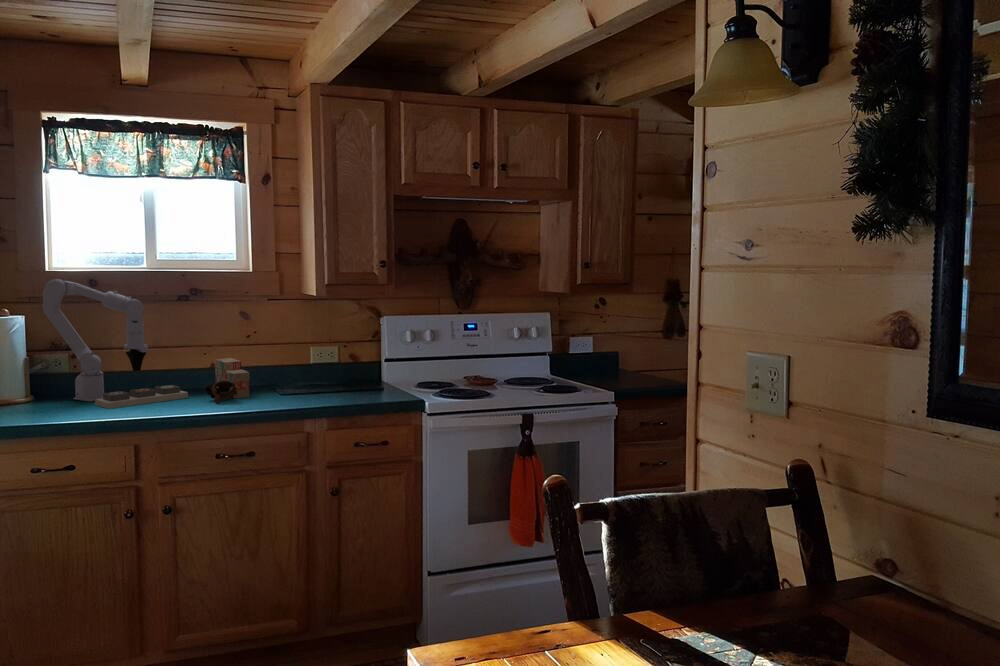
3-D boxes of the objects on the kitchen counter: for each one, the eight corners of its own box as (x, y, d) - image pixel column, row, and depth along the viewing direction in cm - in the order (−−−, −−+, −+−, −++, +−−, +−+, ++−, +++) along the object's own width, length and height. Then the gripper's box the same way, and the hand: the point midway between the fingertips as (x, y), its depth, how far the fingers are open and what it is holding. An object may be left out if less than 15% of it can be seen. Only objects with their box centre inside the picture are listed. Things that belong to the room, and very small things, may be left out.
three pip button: (139, 395, 275) (139, 391, 275) (133, 394, 278) (133, 389, 278) (151, 394, 278) (151, 389, 278) (145, 392, 281) (145, 388, 281)
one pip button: (164, 392, 282) (164, 387, 282) (158, 390, 285) (158, 386, 284) (176, 390, 285) (176, 386, 285) (170, 389, 288) (170, 385, 288)
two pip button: (112, 399, 268) (112, 394, 268) (107, 397, 271) (106, 393, 271) (125, 397, 272) (125, 392, 271) (120, 396, 274) (119, 391, 274)
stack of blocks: (250, 397, 288) (249, 363, 287) (232, 399, 284) (231, 365, 283) (232, 389, 305) (231, 357, 304) (215, 390, 302) (214, 358, 300)
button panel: (108, 408, 264) (107, 396, 264) (95, 405, 271) (94, 393, 271) (188, 397, 286) (187, 386, 285) (174, 394, 292) (173, 383, 292)
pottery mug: (242, 400, 285) (242, 382, 280) (229, 416, 277) (229, 398, 273) (211, 390, 286) (210, 372, 281) (197, 406, 278) (196, 388, 274)
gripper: (155, 333, 284) (157, 371, 285) (137, 330, 293) (138, 367, 294) (136, 335, 278) (137, 373, 280) (117, 332, 288) (119, 369, 289)
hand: (136, 370), depth 287 cm, fingers closed
